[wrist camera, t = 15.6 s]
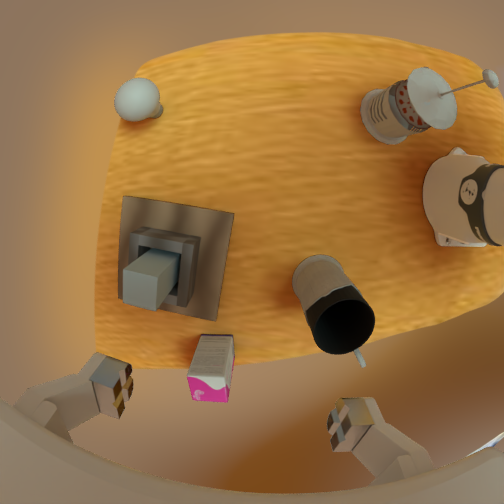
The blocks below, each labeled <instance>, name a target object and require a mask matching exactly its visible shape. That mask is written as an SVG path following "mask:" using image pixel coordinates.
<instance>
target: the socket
mask: <svg viewBox="0 0 504 504" xmlns="http://www.w3.org/2000/svg"><path fill="white" fill-rule="evenodd" d="M233 218H234V213H229V212H224V211H218V210H213V209H207V208H201V207H195V206H189V205H183V204H177V203H171V202H165V201H159V200H152V199H146V198H139V197H132V196H123V202H122V212H121V224H120V239H119V261H118V298H119V299H123V269H124V268H125V267H127V266H128V265H129V264H131V263H132V262H134V261H135V260H136V259H138V258H139V257H140V256H142V255H143V254H144V253H146V252H147V251H149V250H150V249H151V248H156V249H161V250H166V251H171V252H176V253H181V254H182V255H181V263H180V273H179V280H178V281H177V283H176V284H175V285H174V287H173V288H172V290H171V291H170V292H169V294H168V295H167V296H166V298H165V299H164V301H163V302H162V303H161V305H160V306H159V308H158V309H161V310H165V311H170V312H174V313H178V314H183V315H187V316H192V317H196V318H201V319H206V320H211V321H216V319H217V312H218V306H219V300H220V294H221V288H222V281H223V275H224V269H225V264H226V258H227V252H228V246H229V240H230V235H231V229H232V224H233Z"/></svg>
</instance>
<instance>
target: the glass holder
mask: <svg viewBox="0 0 504 504" xmlns="http://www.w3.org/2000/svg"><path fill="white" fill-rule="evenodd" d="M292 286H293V290H294V292H295V294H296V296H297V297H298V298H299V299H300V302H301V305H302V308H303V311H304V314H305V317H306V321H307V323H308V325H309V326H310V328H311V331H312V334H313V337H314V340H315V342H316V344H317V346H318V347H319V348H320V349H321V350H323V351H325V352H326V353H330V354H346V353H349V352H352V351H354V353H355V355H356V357H357V359H358V361H359V363H360V365H361V367H362V368H363V367H365V366H366V363H365V361H364V359H363V357H362V355H361V353H360V351H359V349H358V348H359V347H361V346H362V345H363V344H364V343H365V342H366V341H367V340H368V338H369V337H370V335H371V334H372V332H373V329H374V325H375V316H374V312H373V310H372V308H371V307H370V306H369V304H368V303H367V302H366V301H365V300H364V298H363V297H362V295H361V293H360V291H359V290H358V289H357V288H356V286H355V285H354V284H353V283H352V282H351V281H350V279H349V278H348V277H347V276H346V275H345V274H344V271H343V269H342V267H341V265H340V263H339V262H338V261H337V260H335V259H334V258H332V257H330V256H327V255H314V256H311V257H309V258H307V259H305V260H304V261H302V262H301V263H300V264H299V265H298V267H297V268H296V270H295V272H294V274H293V278H292Z"/></svg>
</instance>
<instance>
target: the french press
mask: <svg viewBox="0 0 504 504" xmlns="http://www.w3.org/2000/svg"><path fill="white" fill-rule="evenodd" d="M482 74H483V79H484V80H481V81H478V82H475V83H472V84H469V85H466V86H463V87H460V88H457V89H454V90H451V88H450V86H449V84H448V83H447V82H446V81H445V80H444V79H443V78H442V76H441V75H439V74H438V73H436V72H434V71H433V70H431V69H429V68H428V67H423V68H422V67H421V68H418V69H415V70H413V71H412V73H411V74H410V75H409V77H408V79H407V80H402V81H398V82H396V83H395V84H396V85H394V84H393V85H391V86H390V87H388V88H386V89H375V90H372V91H370V92H368V93H367V94H366V95H365V97H364V98H363V99H362V103H361V108H360V112H361V117H362V122H363V123H364V125H365V127H366V129H367V130H368V132H369V133H370V134H371V135H372V136H373V137H374V138H375V139H377V140H378V141H381V142H383V143H385V144H398V143H400V142H402V141H404V140H405V139H406V138H407V136H408V135H409V134H410V135H412V134H417V133H421V132H423V131H425V130H427V129H428V128H430V127H434V128H435V129H443V130H445V129H447V128H449V127H451V126H452V125H453V123H454V121H455V120H456V116H457V105H456V100H455V96H454V94H453V92H455V91H458V90H461V89H464V88H467V87H470V86H473V85H476V84H480V83H483V82H485V83H486V84H487V85H488V87H490V88H492V89H494V88H496V87H497V86H498V85H499V84H498V77H497V75H496V74H495V73H494V72H493V71H491V70H489V69H486V70H484V71H483V72H482ZM413 126H414V128H413ZM412 128H413V129H412ZM415 128H416V130H417V129H419V130H420V129H422V130H421V131H419V130H417V131H416V130H414V129H415ZM411 129H412V130H411ZM410 130H411V131H410ZM413 130H414V131H413ZM415 131H416V132H415ZM418 131H419V132H418Z"/></svg>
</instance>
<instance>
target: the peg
mask: <svg viewBox="0 0 504 504" xmlns="http://www.w3.org/2000/svg"><path fill="white" fill-rule="evenodd" d="M181 255H182V254H181V253H176V252H171V251H166V250H161V249H156V248H151V249H150V250H149V251H147V252H146V253H144V254H143V255H142V256H140V257H139V258H138V259H136V260H135V261H134V262H132V263H131V264H129V265H128V266H127V267H125V268H124V269H123V303H125V304H129V305H133V306H136V307H140V308H144V309H148V310H152V311H156V310H157V309H158V308H159V306H160V305H161V303H162V302H163V301H164V299H165V298H166V296H167V295H168V294H169V292H170V291H171V290H172V288H173V287H174V285H175V284H176V283H177V281H178V280H179V273H180V263H181Z"/></svg>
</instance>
